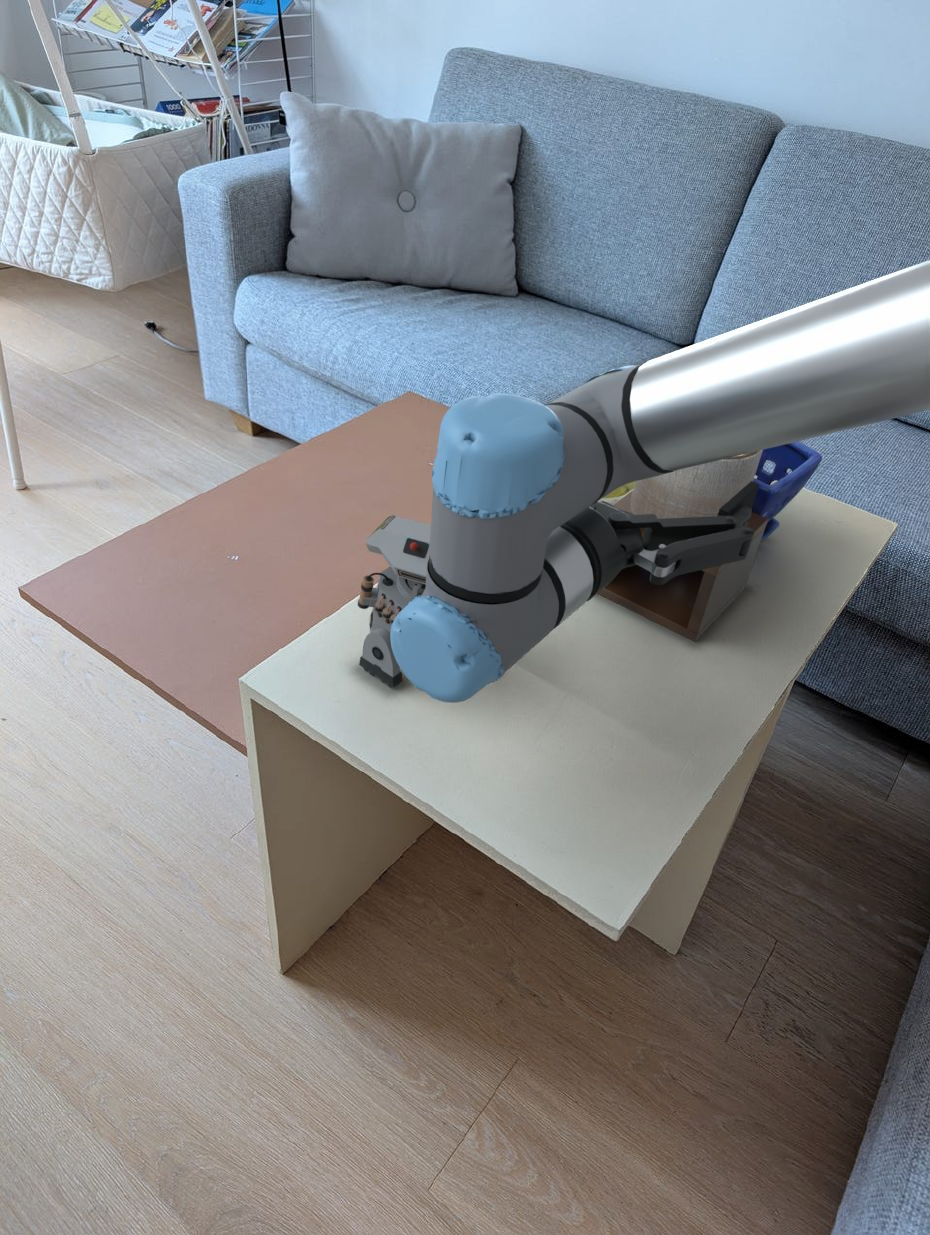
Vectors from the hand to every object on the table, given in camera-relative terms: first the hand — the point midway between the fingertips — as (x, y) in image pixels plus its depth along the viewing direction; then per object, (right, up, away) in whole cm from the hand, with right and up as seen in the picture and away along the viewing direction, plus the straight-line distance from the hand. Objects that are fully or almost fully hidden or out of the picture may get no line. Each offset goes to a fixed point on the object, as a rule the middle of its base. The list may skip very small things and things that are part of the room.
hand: (682, 467), depth 81 cm
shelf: (+1, -11, +13) cm, 17 cm away
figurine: (-24, -19, +1) cm, 30 cm away
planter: (+2, -4, +8) cm, 9 cm away
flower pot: (+8, -4, +22) cm, 24 cm away
